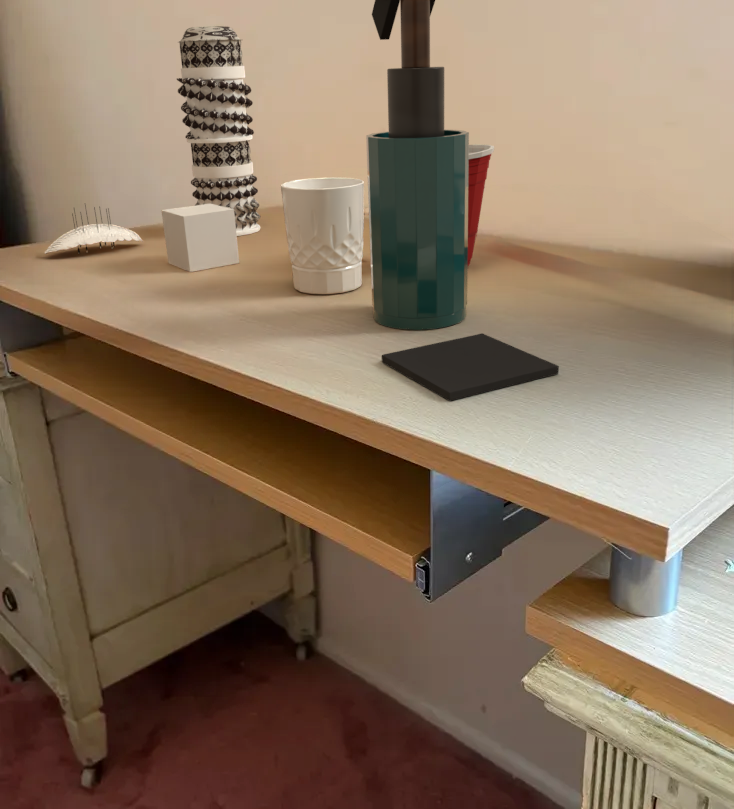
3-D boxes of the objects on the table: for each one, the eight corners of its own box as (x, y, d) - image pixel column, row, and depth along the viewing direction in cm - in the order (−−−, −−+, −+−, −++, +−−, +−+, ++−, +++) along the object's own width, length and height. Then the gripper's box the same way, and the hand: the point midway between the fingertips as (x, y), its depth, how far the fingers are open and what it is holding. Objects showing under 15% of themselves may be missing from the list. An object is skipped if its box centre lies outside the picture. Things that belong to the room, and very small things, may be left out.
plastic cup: (391, 255, 94) (388, 144, 90) (487, 252, 94) (489, 141, 89) (390, 278, 84) (387, 155, 80) (497, 275, 84) (500, 151, 79)
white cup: (276, 283, 84) (268, 182, 80) (346, 272, 87) (342, 175, 83) (307, 301, 77) (300, 191, 73) (382, 288, 80) (378, 183, 77)
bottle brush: (425, 144, 69) (423, -159, 61) (455, 148, 65) (457, -174, 57) (379, 149, 67) (370, -164, 59) (407, 153, 63) (402, -179, 55)
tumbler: (433, 298, 76) (432, 127, 71) (485, 319, 70) (488, 132, 64) (357, 313, 73) (349, 134, 67) (403, 335, 66) (399, 140, 61)
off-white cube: (190, 272, 90) (183, 216, 88) (168, 263, 95) (160, 210, 92) (239, 263, 93) (234, 208, 91) (216, 254, 98) (210, 203, 95)
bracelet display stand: (179, 234, 111) (154, 29, 101) (228, 222, 118) (209, 29, 108) (228, 240, 106) (207, 24, 96) (276, 227, 113) (261, 25, 103)
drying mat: (482, 340, 65) (482, 333, 64) (558, 374, 57) (559, 365, 57) (381, 362, 61) (381, 354, 61) (449, 401, 53) (449, 392, 53)
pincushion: (51, 262, 97) (42, 213, 95) (40, 254, 102) (31, 207, 100) (150, 248, 103) (144, 201, 101) (135, 240, 108) (129, 196, 105)
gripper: (382, -295, 42) (315, 65, 63) (641, -272, 46) (497, 58, 67) (346, -380, 44) (294, -7, 65) (595, -350, 48) (470, -9, 70)
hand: (397, 26), depth 66 cm, fingers closed on bottle brush, 2 cm apart
